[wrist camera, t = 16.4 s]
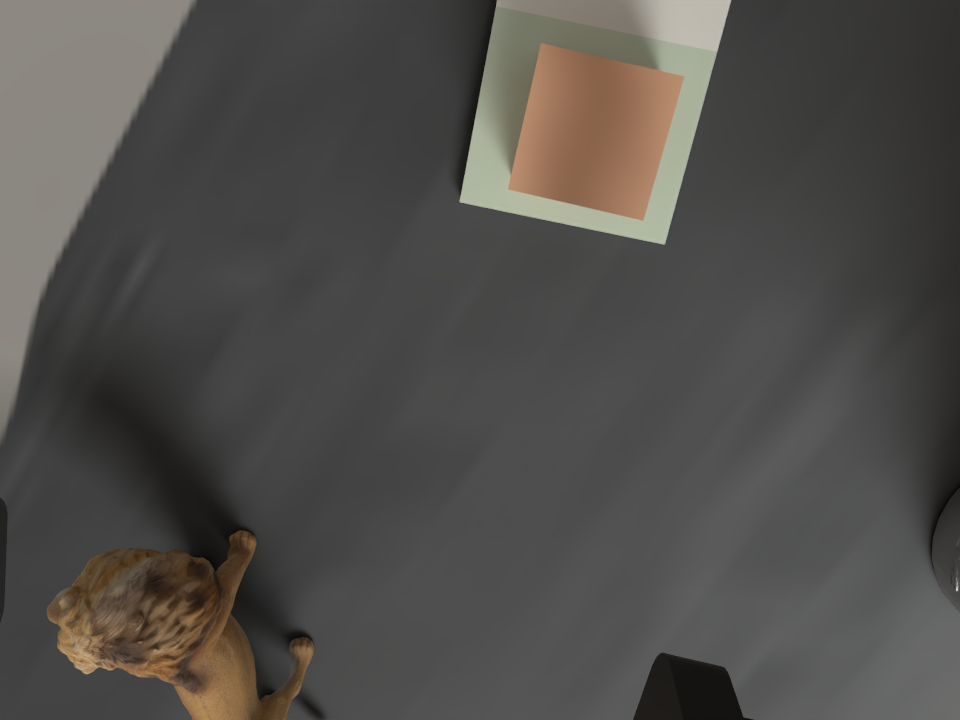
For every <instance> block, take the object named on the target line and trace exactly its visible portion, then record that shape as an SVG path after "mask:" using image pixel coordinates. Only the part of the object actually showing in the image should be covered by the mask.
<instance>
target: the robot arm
mask: <svg viewBox="0 0 960 720" xmlns="http://www.w3.org/2000/svg"><path fill="white" fill-rule="evenodd" d="M6 544H7V508H6V505H5V503H4V501H3V500H2V499H1V498H0V621H1V618H2V615H3V610H4V599H5V572H6ZM932 562H933V567H934V572H935V576H936V579H937V581H938V583H939V585H940V587H941V589H942V591H943V593H944V594H945V595H946V597H947V598H948V599H949V600H950V601H951V603H952V604H953V605H954V606H955V607H956V608H957V610H958V611H959V612H960V488H959V489H958V490H957V491H956V492H955V493H954V495H953V496H952V497H951V498H950V499H949V501H948V503H947V505H946V506H945V508H944V510H943V512H942V514H941V515H940V517H939V519H938V523H937V526H936V529H935V533H934V536H933V544H932ZM633 720H752V719H748V718H744V717H743V715H742V712H741V709H740V706H739V703H738V700H737V697H736V694H735V691H734V688H733V685H732V682H731V679H730V677H729V674H728V672H727V671H726V669H725V668H724V667H721V666H717V665H713V664H709V663H704V662H700V661H696V660H691V659H687V658H683V657H678V656H674V655H670V654H665V653H661V654H659V655H658V656H657V658H656V659H655V661H654V663H653V665H652V668H651V670H650V673H649V676H648V679H647V682H646V685H645V688H644V690H643V693H642V696H641V699H640V702H639V705H638V707H637V710H636V713H635V716H634V719H633Z"/></svg>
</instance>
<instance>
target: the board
mask: <svg viewBox="0 0 960 720" xmlns="http://www.w3.org/2000/svg"><path fill="white" fill-rule="evenodd" d="M730 2H731V0H497V4H496V9H495V15H494V20H493V25H492V31H491V36H490V41H489V47H488V52H487V58H486V63H485V68H484V74H483V79H482V84H481V90H480V95H479V101H478V106H477V111H476V117H475V122H474V127H473V133H472V138H471V144H470V149H469V154H468V160H467V165H466V170H465V176H464V181H463V187H462V192H461V197H460V202H461V203H466V204H471V205H476V206H481V207H486V208H490V209H495V210H500V211H505V212H510V213H515V214H519V215H524V216H529V217H534V218H539V219H543V220H548V221H553V222H558V223H563V224H568V225H572V226H577V227H582V228H587V229H592V230H597V231H601V232H606V233H611V234H616V235H621V236H626V237H630V238H635V239H640V240H645V241H650V242H654V243H659V244H664V245H665V242H666V238H667V234H668V231H669V227H670V223H671V220H672V216H673V212H674V209H675V205H676V201H677V198H678V194H679V190H680V186H681V183H682V179H683V175H684V172H685V168H686V164H687V161H688V157H689V153H690V150H691V146H692V142H693V139H694V135H695V131H696V128H697V124H698V120H699V117H700V113H701V109H702V105H703V102H704V98H705V94H706V91H707V87H708V83H709V80H710V76H711V72H712V69H713V65H714V61H715V58H716V54H717V50H718V47H719V43H720V39H721V36H722V32H723V28H724V24H725V21H726V17H727V13H728V10H729V6H730ZM541 43H543V44H547V45H551V46H556V47H560V48H564V49H569V50H573V51H577V52H582V53H586V54H590V55H594V56H599V57H603V58H607V59H612V60H616V61H620V62H625V63H629V64H633V65H637V66H642V67H646V68H650V69H655V70H659V71H663V72H668V73H672V74H676V75H680V76H684V80H683V83H682V87H681V90H680V94H679V97H678V101H677V104H676V108H675V111H674V115H673V118H672V122H671V125H670V129H669V133H668V136H667V140H666V143H665V147H664V150H663V154H662V157H661V161H660V164H659V168H658V171H657V175H656V178H655V182H654V185H653V189H652V192H651V196H650V199H649V203H648V206H647V210H646V213H645V217H644V220H643V221H642V220H638V219H634V218H629V217H625V216H621V215H616V214H612V213H608V212H603V211H599V210H595V209H590V208H586V207H582V206H578V205H573V204H569V203H565V202H560V201H556V200H552V199H547V198H543V197H539V196H534V195H530V194H526V193H521V192H517V191H513V190H508V186H509V182H510V178H511V173H512V169H513V164H514V160H515V156H516V151H517V147H518V142H519V138H520V134H521V129H522V125H523V120H524V116H525V112H526V107H527V103H528V98H529V94H530V90H531V85H532V81H533V76H534V72H535V68H536V63H537V59H538V54H539V50H540V46H541Z"/></svg>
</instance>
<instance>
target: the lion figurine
mask: <svg viewBox="0 0 960 720" xmlns="http://www.w3.org/2000/svg"><path fill="white" fill-rule="evenodd" d="M229 542H230V549H229V551H228V557H227V560H226V561H225V562H224V563H223V564H222V565H221V566H219V568H218V569H217V570H216V572H215V571H214V568H213V567H212V565H211V563H210V562H209V561H208V560H206V559H205V558H203V557H200V558H194V557H192V556H190V555H189V554H188V553H186V552H182V551H181V550H180V549H176V550H174V551H170V552H168V553H166V554H162V553H160V552H158V551H154V550H150V549H140V548H138V549H132V548H125V549H122V550H120V549H117V550H113V551H111V552H106V553H103V554H100V555H98V556H96V557H94V558H91V559H90V560H89V561H88V563H87V565H86V567H85V568H84V570H83V572H82V573H81V574H80V575H79V576H78V578H77V579H76V581H75V582H74V583H73V585H72V587H70V588H66V589H64V590H62V591H60V592H59V593H58V594H57V596H56V597H55V598H54V600H53V601H52V603H51V604H49V606H48V607H47V616H48V618H49V620H50V621H51V622H53V623H56V624H58V625H59V626H60V627H61V630H60V631H59V632H58V642H57V646H58V648H59V650H60V651H61V652H62V653H64V654H66V655H67V656H68V658H69V660H70V661H71V662H74V666H75V668H77V669H79V670H82V672H83V673H85V674H89V673H91V672H93V671H94V670H95V669H97V668H98V667H102V668H104V669H107V670H113V669H115V668H121V669H123V670H125V671H127V672H128V673H130V674H135V675H136V676H138V677H150V678H159V679H161V680H162V681H165V682H169V683H172V684H173V685H174V687H175V689H176V691H177V693H178V695H179V697H180V699H181V701H182V703H183V704H184V706H185V707H186V708H187V710H188V711H189V713H190V715H191V716H192V719H193V720H286V717H287V711H288V709H289V707H290V704H291V701H292V699H293V698H294V697H295V696H296V695H297V694H298V693H299V691H300V689H301V686H302V682H303V679H304V675H305V672H306V669H307V667H308V665H309V663H310V661H311V658H312V655H313V651H314V645H313V642H312V641H311V640H310V639H308V638H306V637H300V638H296V639H294V640H292V641H291V643H290V645H289V654H290V657H291V669H290V673H289V676H288V678H287V680H286V682H285V683H284V685H283V686H281V687H280V688H279V689H277V690H276V691H275V692H274V693H273V694H271V695H265V696H264V697H263V698H262V699H261V700H259V697H258V694H257V689H256V672H255V662H254V656H253V653H252V650H251V646H250V643H249V641H248V639H247V637H246V634H245V632H244V631H243V629H242V628H241V626H240V625H239V624H238V622H237V621H236V619H235V618H234V617H233V616H232V614H231V613H230V612H231V610H232V607H233V604H234V600H235V596H236V593H237V590H238V587H239V585H240V582H241V579H242V577H243V574H244V572H245V570H246V568H247V566H248V564H249V563H250V561H251V559H252V556H253V554H254V551H255V548H256V544H257V543H256V538H255V536H254V535H253V534H251V533H250V532H248V531H241V530H239V531H237V532H236V533H234V534H232V535H231V536H230V537H229Z"/></svg>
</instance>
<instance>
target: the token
mask: <svg viewBox="0 0 960 720" xmlns="http://www.w3.org/2000/svg"><path fill="white" fill-rule="evenodd" d="M683 80H684V76H680V75H676V74H672V73H668V72H663V71H659V70H655V69H650V68H646V67H642V66H637V65H633V64H629V63H625V62H620V61H616V60H612V59H607V58H603V57H599V56H594V55H590V54H586V53H582V52H577V51H573V50H569V49H564V48H560V47H556V46H551V45H547V44H543V43H541V46H540V50H539V54H538V59H537V63H536V68H535V72H534V76H533V81H532V85H531V90H530V94H529V98H528V103H527V107H526V112H525V116H524V120H523V125H522V129H521V134H520V138H519V142H518V147H517V151H516V156H515V160H514V164H513V169H512V173H511V178H510V182H509V186H508V190H513V191H517V192H521V193H526V194H530V195H534V196H539V197H543V198H547V199H552V200H556V201H560V202H565V203H569V204H573V205H578V206H582V207H586V208H590V209H595V210H599V211H603V212H608V213H612V214H616V215H621V216H625V217H629V218H634V219H638V220H642V221H643V220H644V217H645V213H646V210H647V206H648V203H649V199H650V196H651V192H652V189H653V185H654V182H655V178H656V175H657V171H658V168H659V164H660V161H661V157H662V154H663V150H664V147H665V143H666V140H667V136H668V133H669V129H670V125H671V122H672V118H673V115H674V111H675V108H676V104H677V101H678V97H679V94H680V90H681V87H682V83H683Z"/></svg>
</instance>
